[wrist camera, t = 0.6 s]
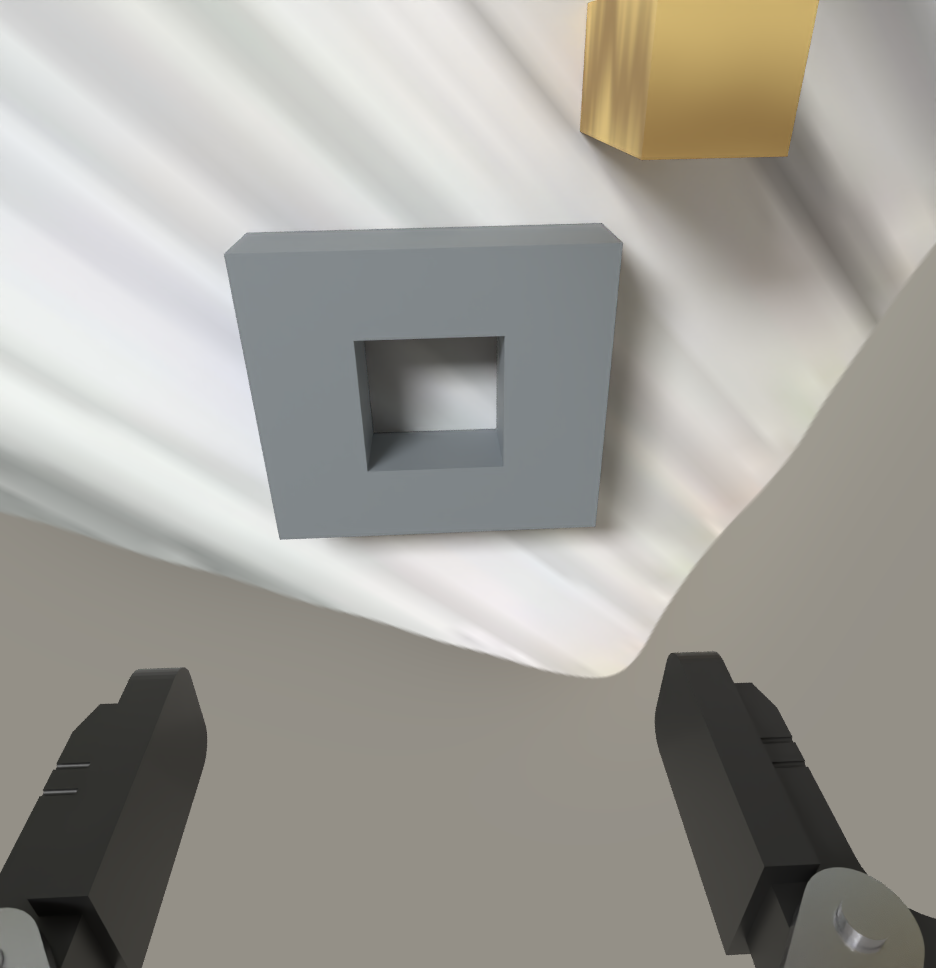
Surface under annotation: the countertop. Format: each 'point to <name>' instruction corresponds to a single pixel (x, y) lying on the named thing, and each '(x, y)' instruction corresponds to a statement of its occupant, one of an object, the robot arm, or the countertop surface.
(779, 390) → the countertop surface
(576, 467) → the hole block
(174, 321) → the countertop surface
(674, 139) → the peg
